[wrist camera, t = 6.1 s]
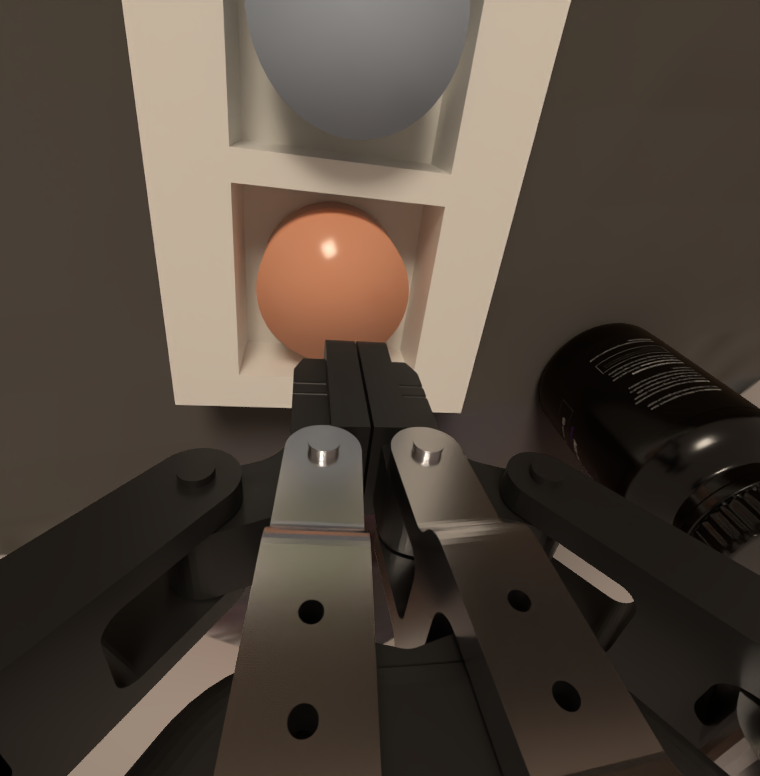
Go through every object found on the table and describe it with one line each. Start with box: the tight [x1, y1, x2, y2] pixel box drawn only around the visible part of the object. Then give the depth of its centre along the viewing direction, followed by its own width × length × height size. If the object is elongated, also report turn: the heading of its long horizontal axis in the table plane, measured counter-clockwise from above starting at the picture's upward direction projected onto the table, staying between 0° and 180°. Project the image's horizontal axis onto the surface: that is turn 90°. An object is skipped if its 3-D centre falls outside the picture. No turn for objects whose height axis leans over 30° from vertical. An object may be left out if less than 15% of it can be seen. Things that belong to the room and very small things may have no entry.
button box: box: [122, 0, 571, 413], centre depth 14 cm, size 26×12×4 cm, turn 173°
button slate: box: [245, 0, 470, 140], centre depth 12 cm, size 6×6×3 cm
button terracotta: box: [256, 202, 409, 359], centre depth 18 cm, size 6×6×3 cm
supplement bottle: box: [539, 323, 760, 575], centre depth 20 cm, size 7×7×12 cm
